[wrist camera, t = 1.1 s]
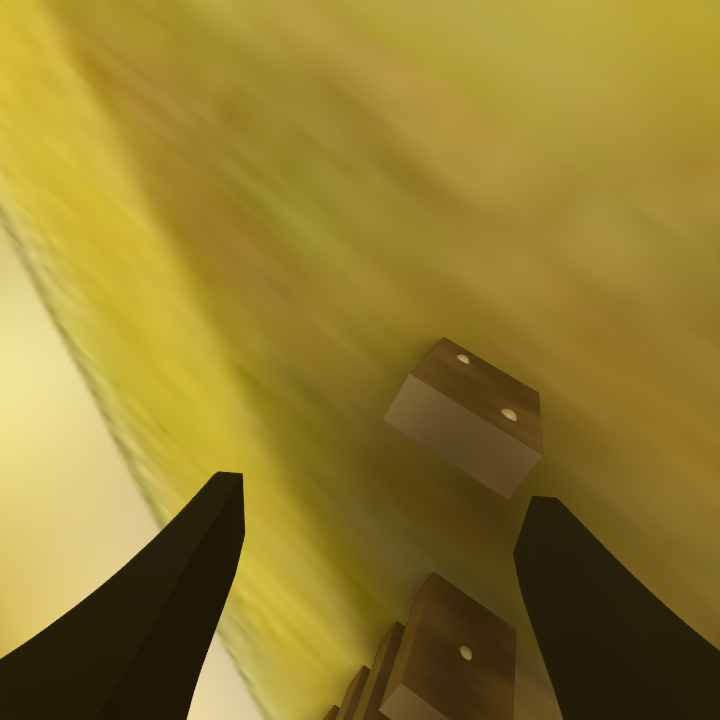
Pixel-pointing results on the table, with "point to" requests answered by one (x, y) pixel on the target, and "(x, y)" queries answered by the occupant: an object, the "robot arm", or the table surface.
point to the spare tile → (471, 417)
